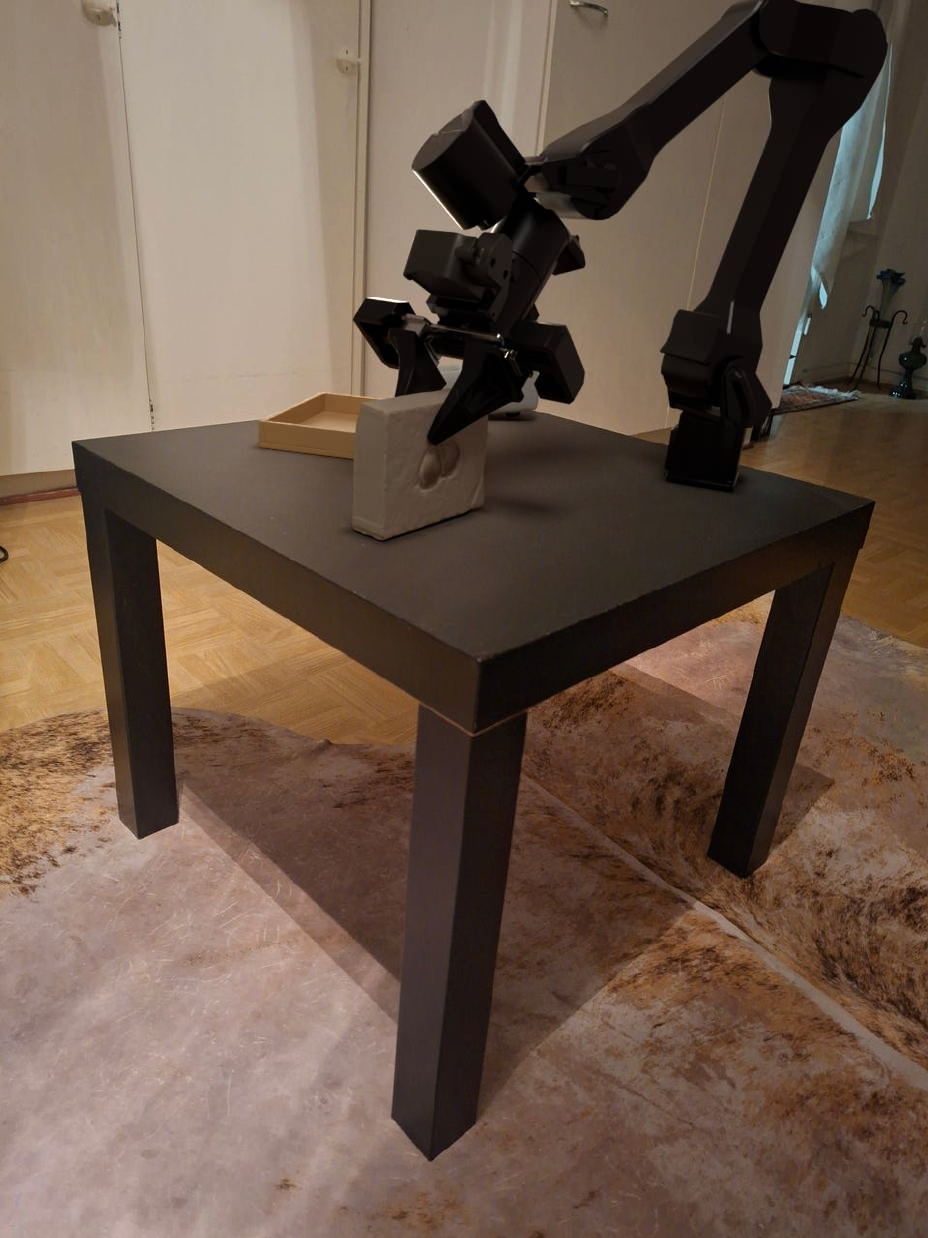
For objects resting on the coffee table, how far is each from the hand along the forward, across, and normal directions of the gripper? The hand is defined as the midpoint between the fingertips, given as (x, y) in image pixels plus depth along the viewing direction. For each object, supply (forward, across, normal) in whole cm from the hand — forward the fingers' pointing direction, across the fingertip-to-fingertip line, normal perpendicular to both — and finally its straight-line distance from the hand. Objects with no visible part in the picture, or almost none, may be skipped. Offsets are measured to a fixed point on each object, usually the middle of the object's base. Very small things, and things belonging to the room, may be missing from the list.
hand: (411, 437), depth 62 cm
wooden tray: (-8, -20, +18) cm, 28 cm away
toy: (-21, -20, +31) cm, 43 cm away
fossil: (+4, 0, +6) cm, 7 cm away
